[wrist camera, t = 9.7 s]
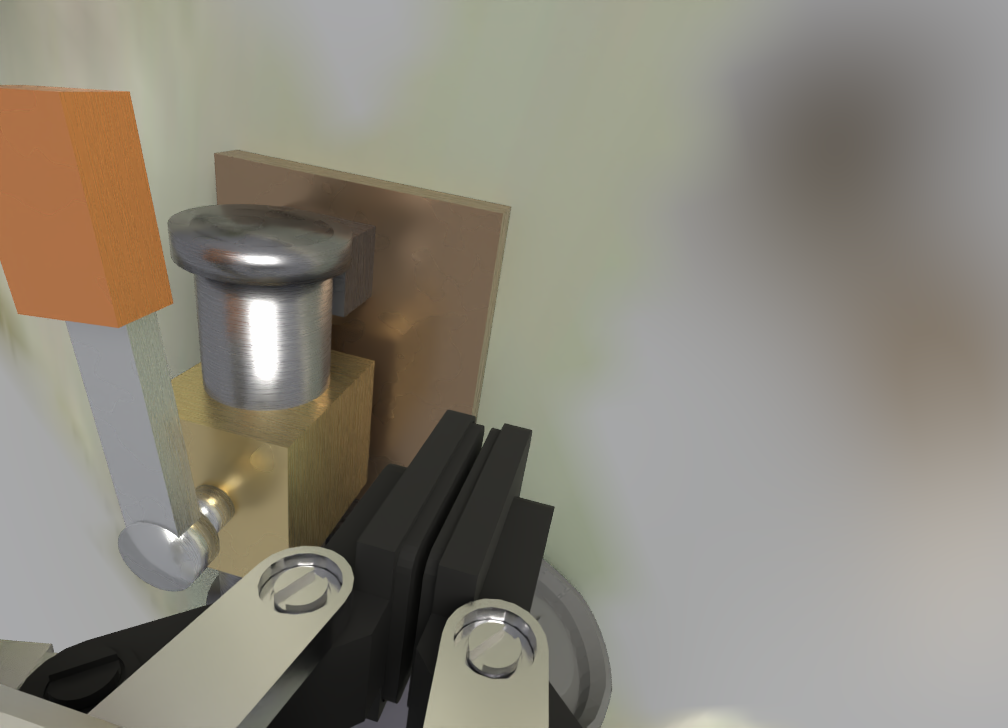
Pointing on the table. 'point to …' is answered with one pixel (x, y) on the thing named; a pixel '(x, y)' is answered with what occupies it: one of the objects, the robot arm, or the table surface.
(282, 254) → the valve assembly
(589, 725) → the bluetooth speaker
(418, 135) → the table surface
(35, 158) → the lever
